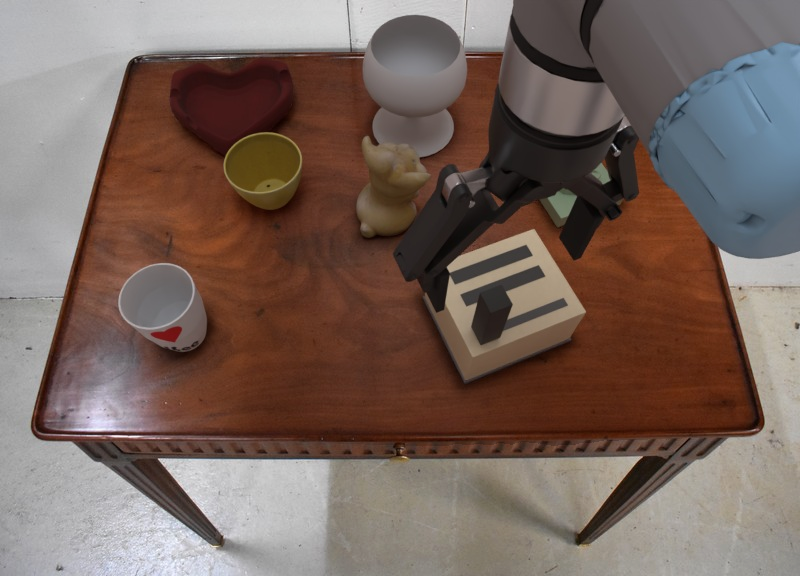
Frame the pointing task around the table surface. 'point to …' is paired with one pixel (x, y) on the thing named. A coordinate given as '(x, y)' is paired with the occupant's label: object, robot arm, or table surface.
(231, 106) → the ashtray
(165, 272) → the cup
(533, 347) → the toaster
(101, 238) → the table surface
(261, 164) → the flower pot
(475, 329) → the toaster slider
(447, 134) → the chalice
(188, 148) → the table surface
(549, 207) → the control block
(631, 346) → the table surface
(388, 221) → the figurine
